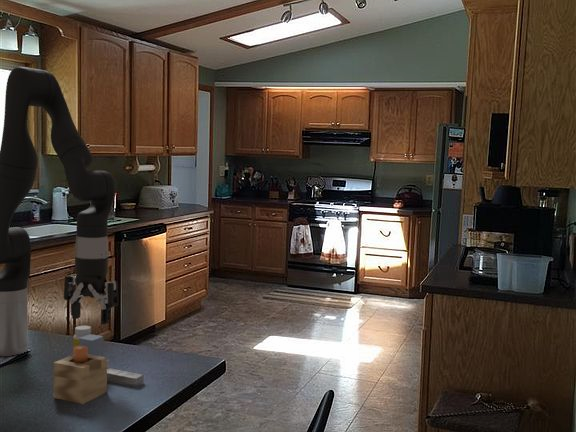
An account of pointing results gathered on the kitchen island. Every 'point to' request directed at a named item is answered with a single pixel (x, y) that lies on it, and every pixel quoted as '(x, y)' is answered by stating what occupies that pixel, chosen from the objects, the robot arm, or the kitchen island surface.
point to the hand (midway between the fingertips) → (90, 321)
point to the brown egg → (80, 354)
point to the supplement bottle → (80, 334)
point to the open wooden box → (80, 379)
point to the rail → (124, 377)
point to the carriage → (93, 345)
